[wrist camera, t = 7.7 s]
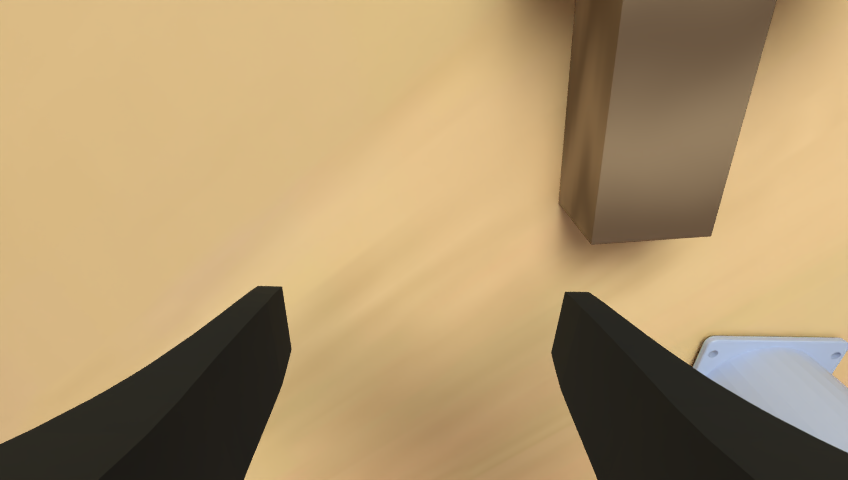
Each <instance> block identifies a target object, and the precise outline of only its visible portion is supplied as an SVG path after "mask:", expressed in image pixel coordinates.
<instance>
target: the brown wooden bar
mask: <svg viewBox="0 0 848 480" xmlns="http://www.w3.org/2000/svg"><path fill="white" fill-rule="evenodd" d="M776 1H777V0H576V2H575V14H574V25H573V37H572V49H571V61H570V73H569V85H568V97H567V108H566V120H565V132H564V144H563V156H562V168H561V179H560V191H559V204H560V205H561V207H562V208H563V209H564V210H565V212H566V213H567V214H568V215H569V217H570V218H571V219H572V221H573V222H574V223H575V224H576V226H577V227H578V228H579V230H580V231H581V232H582V233H583V235H584V236H585V237H586V238H587V240H588V241H589V242H590V244H591V245H592V244H607V243H621V242H636V241H650V240H664V239H679V238H693V237H708V236H711V234H712V231H713V227H714V224H715V220H716V216H717V213H718V209H719V206H720V202H721V198H722V195H723V191H724V188H725V184H726V180H727V177H728V173H729V170H730V166H731V162H732V159H733V155H734V152H735V148H736V145H737V141H738V137H739V134H740V130H741V127H742V123H743V119H744V116H745V112H746V109H747V105H748V101H749V98H750V94H751V91H752V87H753V83H754V80H755V76H756V73H757V69H758V65H759V62H760V58H761V55H762V51H763V48H764V44H765V40H766V37H767V33H768V30H769V26H770V22H771V19H772V15H773V12H774V8H775V4H776Z"/></svg>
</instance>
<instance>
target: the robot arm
mask: <svg viewBox="0 0 848 480" xmlns="http://www.w3.org/2000/svg"><path fill="white" fill-rule="evenodd" d="M847 350H848V342H846V341H845V340H844V339H842V338H823V337H760V336H711V337H709V338H707V339H706V340H705V341H704V343H703V345H702V348H701V350H700V352H699V354H698V357H697V359H696V361H695V363H694V366H693V367H691V366H690V365H688V364H687V363H685V362H684V361H682V360H681V359H680V358H678V357H677V356H675V355H674V354H672V353H671V352H669V351H668V350H667V349H665V348H664V347H662V346H661V345H660V344H658V343H657V342H655V341H654V340H653V339H651V338H650V337H649V336H647V335H646V334H645V333H643V332H642V331H641V330H639V329H638V328H637V327H635V326H634V325H633V324H631V323H630V322H629V321H627V320H626V319H625V318H623V317H622V316H621V315H619V314H618V313H617V312H616V311H614V310H613V309H612V308H610V307H609V306H608V305H606V304H605V303H604V302H602V301H601V300H599V299H598V298H597V297H595V296H594V295H592V294H591V293H589V292H565V295H564V299H563V303H562V308H561V312H560V317H559V321H558V326H557V330H556V334H555V339H554V343H553V348H552V352H551V354H552V358H553V362H554V366H555V370H556V374H557V377H558V381H559V385H560V388H561V391H562V393H563V396H564V399H565V401H566V404H567V406H568V409H569V411H570V413H571V416H572V418H573V421H574V423H575V426H576V428H577V431H578V433H579V435H580V438H581V440H582V443H583V445H584V447H585V450H586V452H587V455H588V457H589V460H590V462H591V464H592V467H593V469H594V472H595V474H596V477H597V480H848V388H847V387H846V386H845V385H844V384H843V383H841V382H840V381H839V380H838V379H837V378H835V377H834V376H833V375H832V373H833V371H834V370H835V368H836V367H837V365H838V364H839V362H840V361H841V359H842V358H843V356H844V355H845V353H846V352H847ZM290 353H291V343H290V336H289V330H288V323H287V316H286V310H285V303H284V297H283V290H282V287H274V286H257V287H256V288H254V289H253V290H251V291H250V292H249V293H247V294H246V295H245V296H243V297H242V298H241V299H239V300H238V301H237V302H235V303H234V304H233V305H232V306H230V307H229V308H228V309H226V310H225V311H224V312H222V313H221V314H220V315H218V316H217V317H216V318H214V319H213V320H212V321H210V322H209V323H208V324H206V325H205V326H204V327H202V328H201V329H200V330H198V331H197V332H196V333H194V334H193V335H192V336H190V337H189V338H187V339H186V340H184V341H183V342H181V343H180V344H179V345H177V346H176V347H174V348H173V349H171V350H170V351H168V352H167V353H165V354H164V355H163V356H161V357H160V358H158V359H157V360H155V361H154V362H152V363H151V364H149V365H148V366H146V367H144V368H143V369H141V370H140V371H138V372H136V373H135V374H133V375H132V376H130V377H128V378H127V379H125V380H123V381H121V382H120V383H118V384H116V385H115V386H113V387H111V388H109V389H108V390H106V391H104V392H103V393H101V394H99V395H97V396H95V397H94V398H92V399H90V400H88V401H86V402H84V403H82V404H80V405H78V406H76V407H75V408H73V409H71V410H69V411H67V412H65V413H63V414H61V415H59V416H57V417H55V418H53V419H51V420H49V421H47V422H45V423H44V424H42V425H40V426H38V427H36V428H34V429H32V430H30V431H28V432H25V433H23V434H21V435H19V436H17V437H15V438H13V439H11V440H8V441H6V442H4V443H2V444H0V480H244V478H245V475H246V473H247V470H248V468H249V465H250V463H251V460H252V458H253V455H254V453H255V451H256V448H257V446H258V443H259V441H260V438H261V436H262V434H263V431H264V429H265V426H266V424H267V421H268V419H269V417H270V414H271V412H272V409H273V407H274V404H275V402H276V399H277V397H278V394H279V392H280V389H281V387H282V383H283V380H284V376H285V373H286V369H287V365H288V361H289V357H290Z"/></svg>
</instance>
